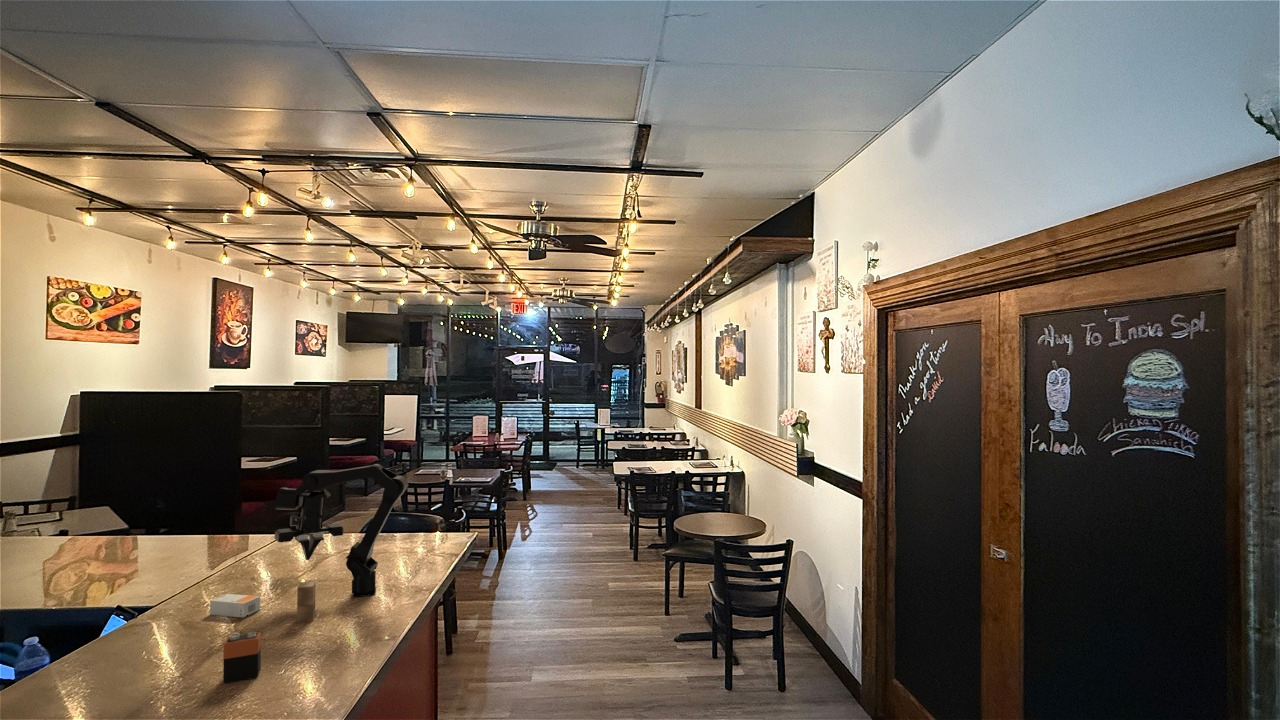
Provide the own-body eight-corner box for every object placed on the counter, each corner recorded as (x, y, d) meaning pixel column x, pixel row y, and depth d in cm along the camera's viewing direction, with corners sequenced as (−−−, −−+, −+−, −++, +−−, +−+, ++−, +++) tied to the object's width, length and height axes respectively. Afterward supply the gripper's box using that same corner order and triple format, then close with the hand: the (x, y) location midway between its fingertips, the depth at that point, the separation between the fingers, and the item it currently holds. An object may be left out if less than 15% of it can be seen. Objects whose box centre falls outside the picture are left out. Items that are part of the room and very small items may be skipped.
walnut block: (315, 615, 175) (315, 581, 175) (312, 621, 171) (313, 586, 171) (299, 617, 174) (300, 583, 174) (297, 623, 170) (297, 587, 170)
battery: (227, 675, 140) (227, 632, 140) (261, 669, 143) (261, 627, 143) (222, 684, 136) (223, 640, 136) (257, 678, 139) (258, 635, 139)
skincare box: (243, 603, 174) (209, 600, 176) (243, 617, 174) (209, 615, 176) (260, 595, 180) (227, 593, 182) (260, 609, 179) (227, 607, 182)
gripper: (335, 503, 203) (331, 549, 203) (272, 508, 191) (268, 557, 190) (346, 509, 195) (341, 557, 195) (281, 515, 183) (276, 566, 182)
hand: (307, 559), depth 191 cm, fingers closed
